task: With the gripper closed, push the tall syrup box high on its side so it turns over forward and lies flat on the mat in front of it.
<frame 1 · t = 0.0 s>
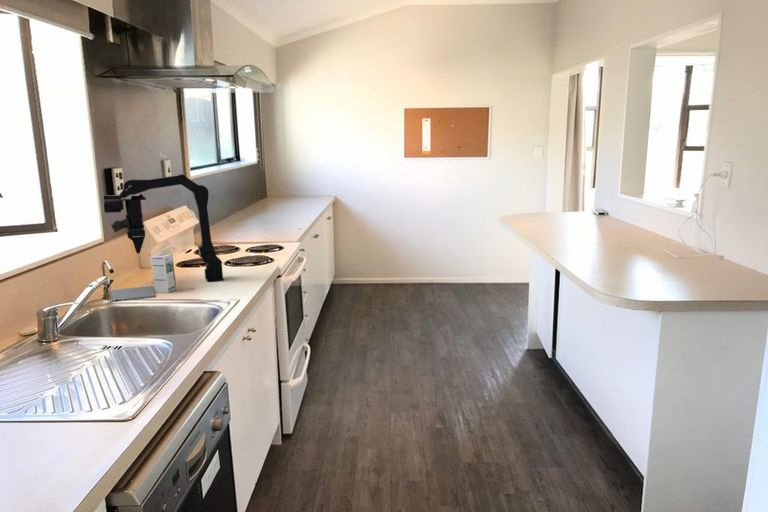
hand: (137, 251, 218), 15 cm above the worktop, fingers open, 9 cm apart
mat: (131, 294, 211), on the worktop
syrup box: (165, 291, 216), on the worktop
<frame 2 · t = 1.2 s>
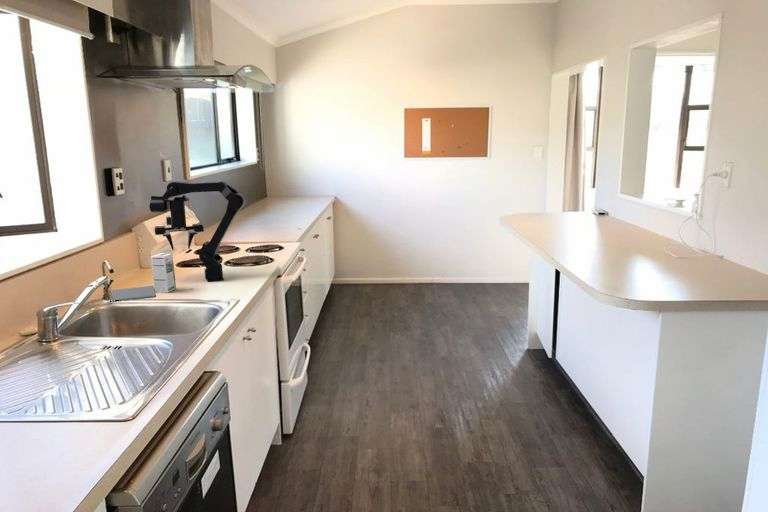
hand: (180, 249, 230), 13 cm above the worktop, fingers open, 6 cm apart
nothing on the worktop moved.
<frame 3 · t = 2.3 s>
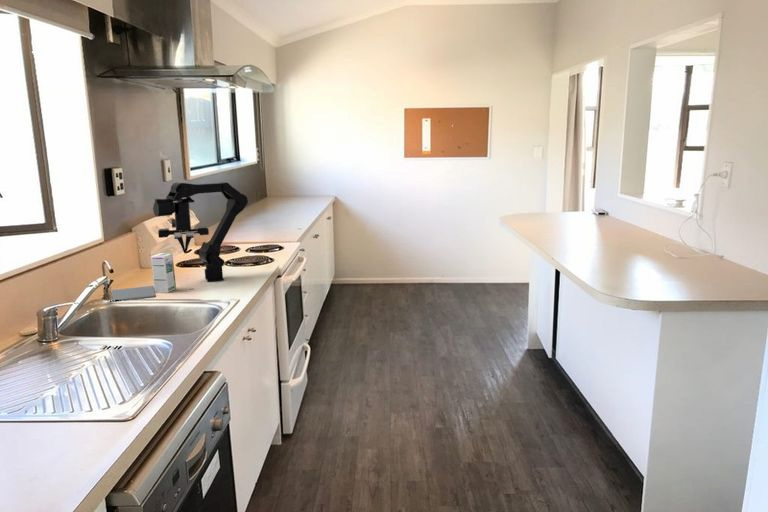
hand: (185, 253, 222), 13 cm above the worktop, fingers closed
nothing on the worktop moved.
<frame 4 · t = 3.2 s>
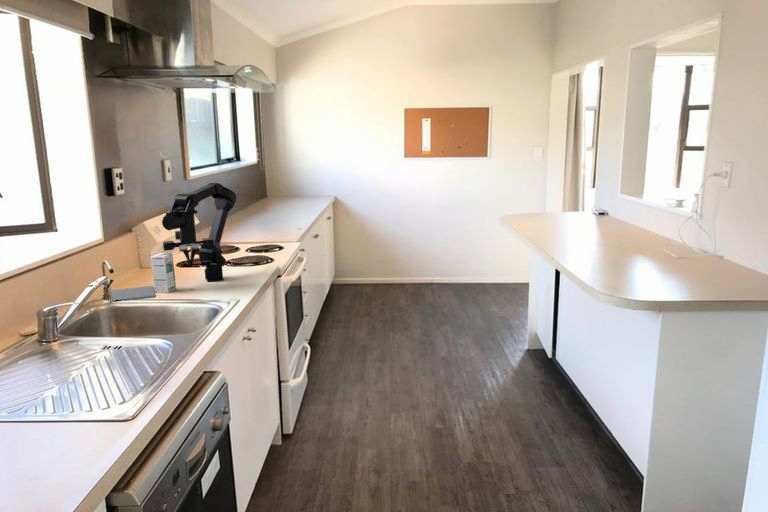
hand: (190, 265, 218), 9 cm above the worktop, fingers closed
nothing on the worktop moved.
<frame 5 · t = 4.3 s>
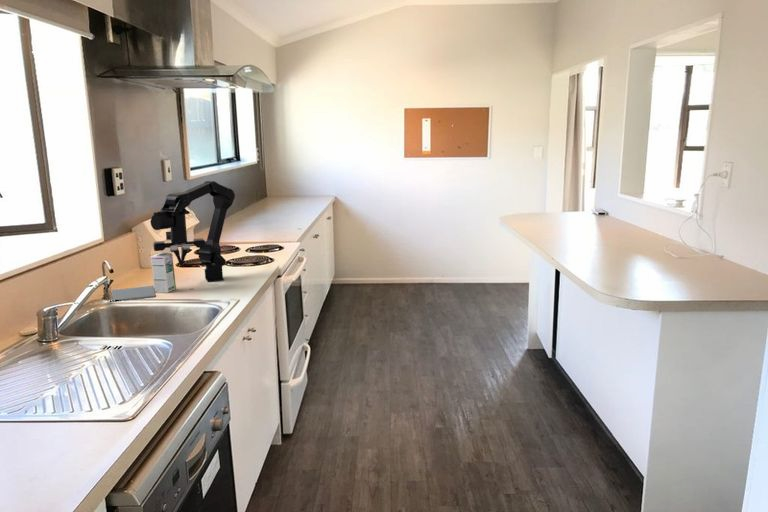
hand: (181, 266, 217), 9 cm above the worktop, fingers closed
syrup box: (165, 291, 216), on the worktop, touching gripper
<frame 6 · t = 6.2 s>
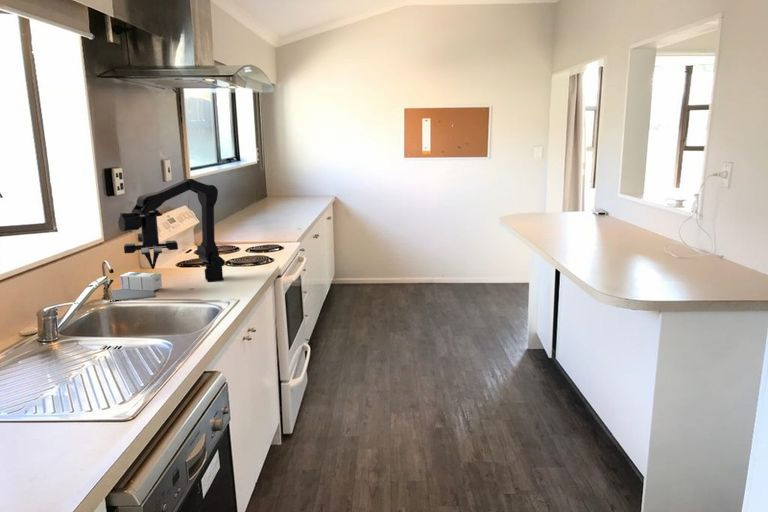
hand: (153, 268, 212), 9 cm above the worktop, fingers closed
syrup box: (158, 282, 215), point 3 cm above the worktop, touching mat
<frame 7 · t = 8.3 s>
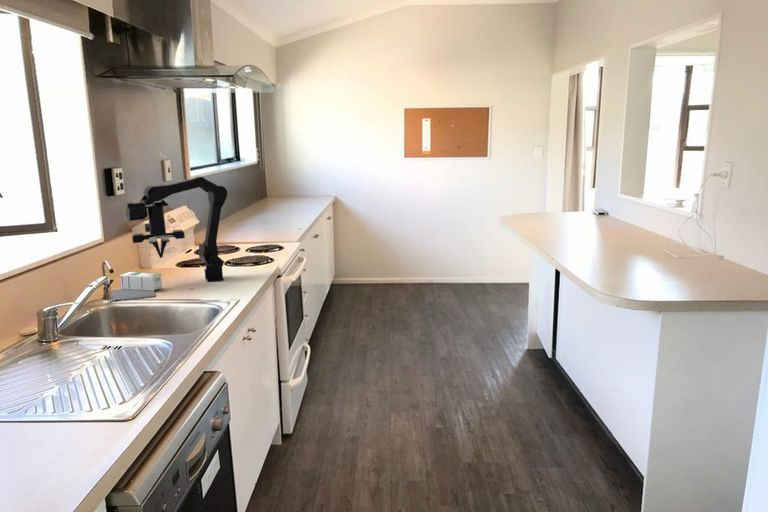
hand: (161, 257, 218), 12 cm above the worktop, fingers closed
nothing on the worktop moved.
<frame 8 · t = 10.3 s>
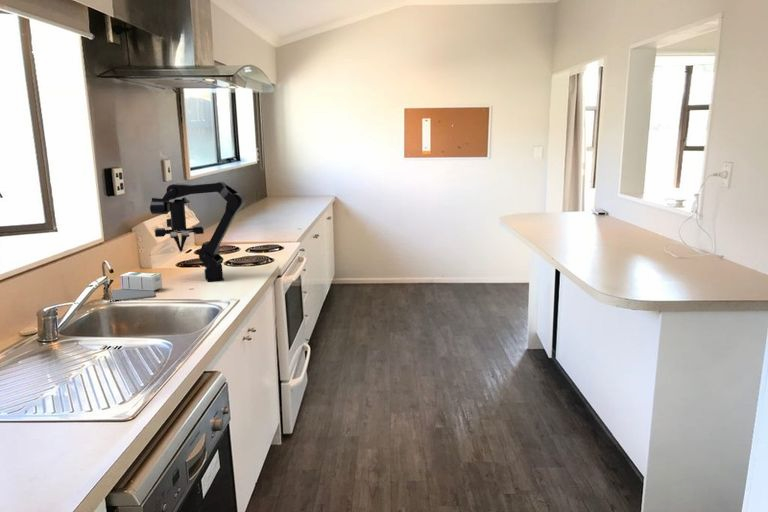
hand: (180, 251, 231), 12 cm above the worktop, fingers closed
nothing on the worktop moved.
at the end: syrup box tilted 89°; syrup box inside the target area (3.1 cm from its centre), point 3.3 cm above the worktop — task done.
